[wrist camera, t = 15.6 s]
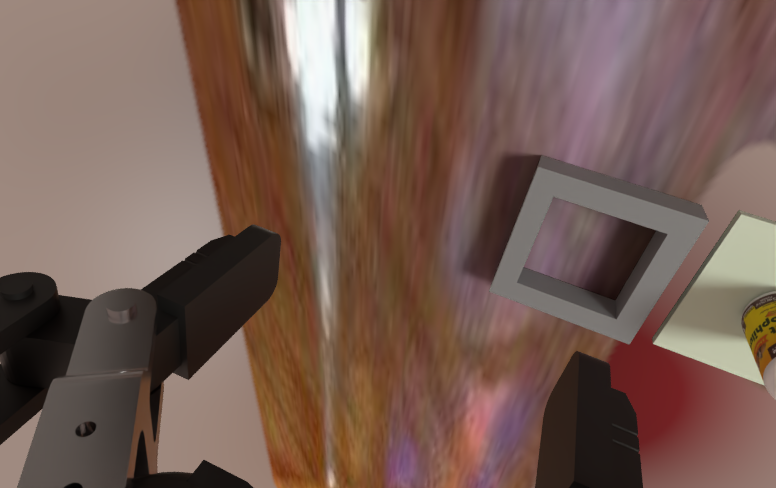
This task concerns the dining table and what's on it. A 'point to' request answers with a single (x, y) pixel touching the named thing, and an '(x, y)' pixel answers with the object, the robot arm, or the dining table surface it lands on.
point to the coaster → (724, 298)
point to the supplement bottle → (762, 336)
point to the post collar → (616, 198)
